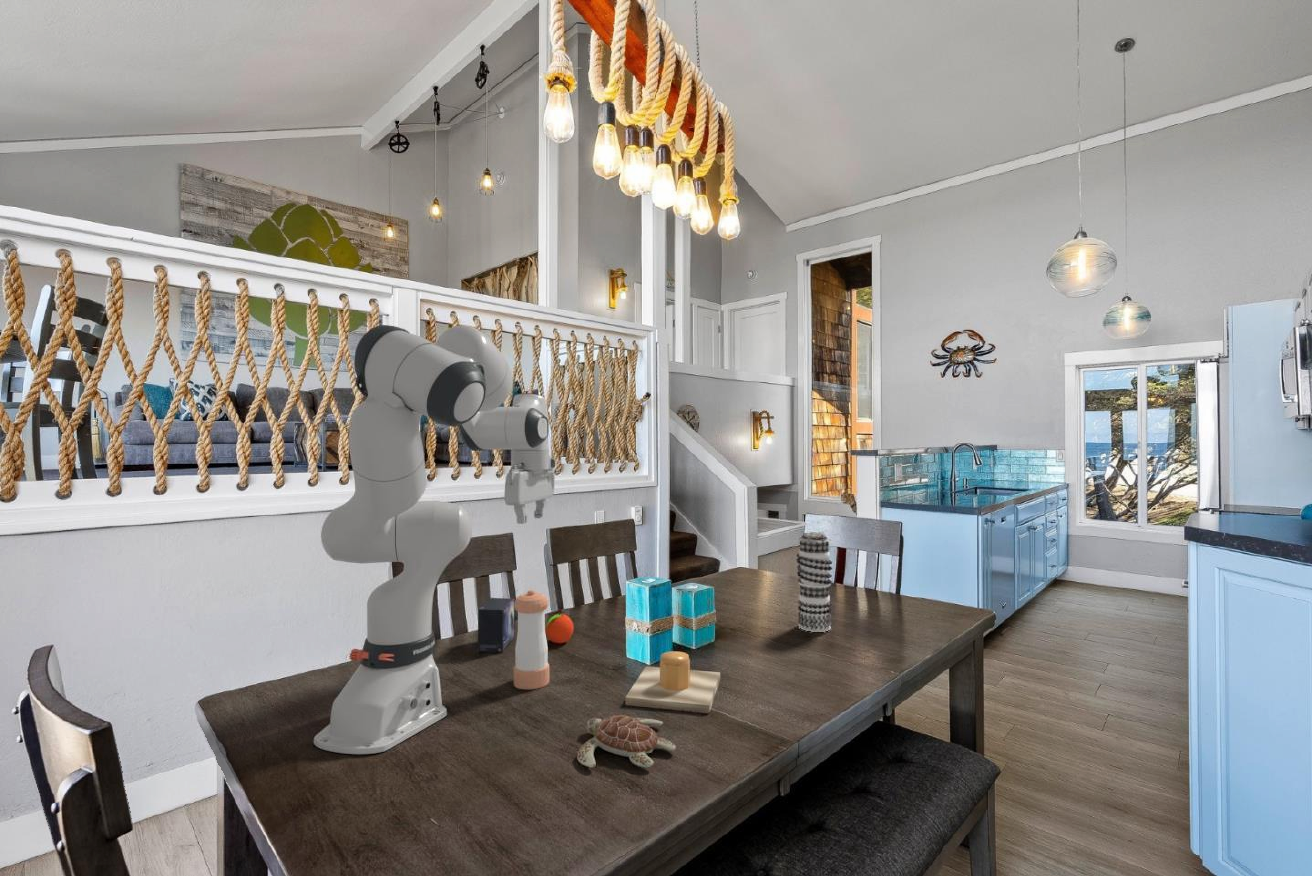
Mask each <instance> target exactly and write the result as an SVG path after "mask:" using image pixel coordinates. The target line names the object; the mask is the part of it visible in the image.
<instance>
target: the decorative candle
mask: <svg viewBox="0 0 1312 876" xmlns="http://www.w3.org/2000/svg"><path fill="white" fill-rule="evenodd" d="M798 541H799V550H798V553H797V554H796V557H797V558H796V563H798V565H797V566H796V568H797V572H796V574H797V576H798V579H797V583H798V585H799V593H798V594H799V595H798V596H799V598H798V600H797V604H798V605H799V606H797V608H798V611H799V612H798V613H797V616H798V619H797V621H798V624H797V625H798V626H799V627H798V629H800V628H801V629H803V630H806V631H805V632H807V631H811V632H810V633H812V632H824V633H826V632H825V631H828V630H830V629H831V630H832V628H831V625H832V622H831V619H832V615H831V613H830V612H832V608H831V606H832V603H831V602H830V601H831V596H830V586H831V585H832V580H830V579H831V578H832V574H830V572H829V571H832V570H833V567H832V566H831V565H832V564H833V561H832V560H831V559H829V558H830V556H831V553H830V541H831V540H830V538H828V537H827V535H826V534H825V533H823V532H812V531H811V532H810V531H809V532H804V533H803V534H802V535H801V537H800V538H798ZM801 629H800V630H801ZM803 630H802V631H803ZM831 630H830V631H831ZM828 632H829V631H828Z"/></svg>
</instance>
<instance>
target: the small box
mask: <svg viewBox="0 0 1312 876" xmlns="http://www.w3.org/2000/svg"><path fill="white" fill-rule="evenodd" d="M514 602H515V598H505V597H502V598H501V597H490V598H489V599H488V600H487V601H486V602H484V604H482V605H481V606H480V607H479V608H478V610H477V612H478V613H477V653H491V654H492V653H494V654H495V653H500V654H501V653H503V652H504V651H505V650H506V649H507V648H508V647H509V645H510V644H511V643H512V641H513V640H514V636H515V632H514V631H515V629H514V628H515V607H514ZM506 647H507V648H506Z"/></svg>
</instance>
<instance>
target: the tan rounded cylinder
mask: <svg viewBox="0 0 1312 876" xmlns="http://www.w3.org/2000/svg"><path fill="white" fill-rule="evenodd" d="M689 656H690V655H689V654H688V653H686V652H683V651H676V650H675V651H673V650H672V651H665V652H663V653H661V655H660V660H659V667H660V686H662V687H663V688H665V689H667V690H682V689H685V688H688V686H689V684H690V670H691V660H690V657H689Z"/></svg>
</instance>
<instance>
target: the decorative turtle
mask: <svg viewBox="0 0 1312 876" xmlns="http://www.w3.org/2000/svg"><path fill="white" fill-rule="evenodd" d="M663 724H664V722H663V721H661V720H657V719H652V718H645V717H634V716H629V715H625V714H617V715H616V714H615V715H611V716H609V717H605V718H603V719H601V718H598V717H592V718H590V719H589V720H587V721H586V730H587V732H588V733H589V734H591V735H592V736H593V737H591V738H590V739H588V740H587V741H586V742H585V743H584V744H583V745H581V746H580V747H579V750H578V752H577V757H576V758H577V759H576V760H577V761H578V762H579V763H580V764H581V765H583V766H585V767H588V768H594V767H596V764H597V763H596V759H595V755H594V753H595V750H596V748H597V747H599V748H600V749H602V750H604V751H607V752H609V753H612V754H615V755H618V756H621V757H627V758H629V761H630V762H631V763H632V764H634V765H635V766H638V767H640V768H641V767H642V768H651V767H652V766H654V764H655V762H654V760H653V759H652V758H651V757H649V756H648V754H650V753H653V751H654V749H655V748H656V747H661V748H662V749H665V750H667V751H675V750H676V745H675V744H674V743H673V742H671V741H670V740H668V739H666V738H664V737H660V736H659V735H658V734H657V732H656V731H655V730H654V729H652V728H651V727H650V726H657V727H660V726H662V725H663Z"/></svg>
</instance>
